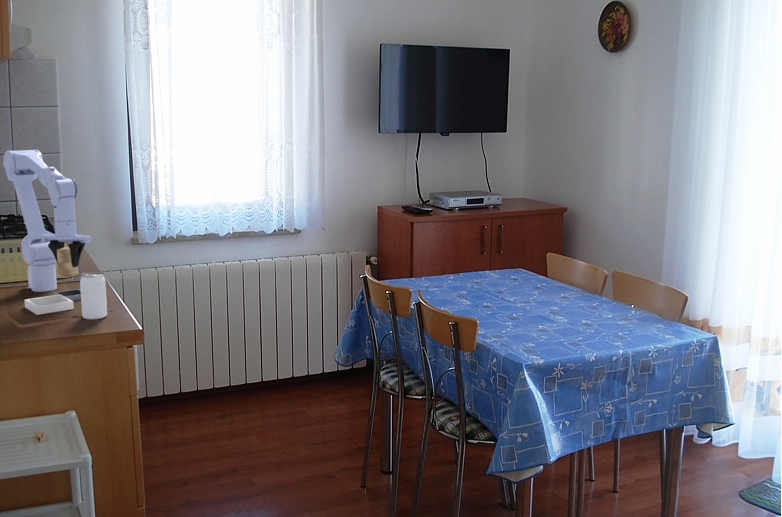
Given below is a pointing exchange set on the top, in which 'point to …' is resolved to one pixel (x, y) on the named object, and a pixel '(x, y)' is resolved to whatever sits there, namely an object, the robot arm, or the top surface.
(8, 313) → the top surface
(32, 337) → the top surface
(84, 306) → the can
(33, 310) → the bin tray
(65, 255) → the peg
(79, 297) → the stud socket
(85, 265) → the top surface
